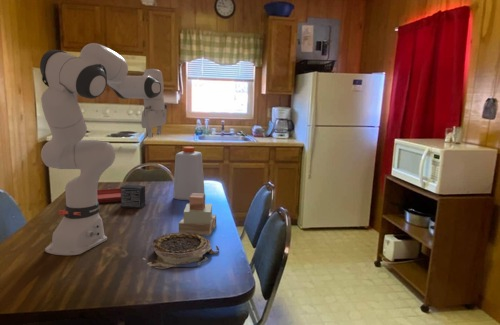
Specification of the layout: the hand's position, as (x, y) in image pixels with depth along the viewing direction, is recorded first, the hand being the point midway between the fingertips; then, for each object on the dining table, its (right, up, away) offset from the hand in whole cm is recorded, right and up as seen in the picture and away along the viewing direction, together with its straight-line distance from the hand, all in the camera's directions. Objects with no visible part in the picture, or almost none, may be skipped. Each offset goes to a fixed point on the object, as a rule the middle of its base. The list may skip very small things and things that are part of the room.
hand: (154, 136), depth 167 cm
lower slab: (+22, -41, -11) cm, 48 cm away
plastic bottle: (+10, -32, +34) cm, 48 cm away
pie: (+19, -46, -33) cm, 60 cm away
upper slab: (+22, -36, -12) cm, 44 cm away
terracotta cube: (+22, -31, -13) cm, 40 cm away
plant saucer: (-31, -32, +29) cm, 53 cm away
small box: (-15, -35, +16) cm, 41 cm away
